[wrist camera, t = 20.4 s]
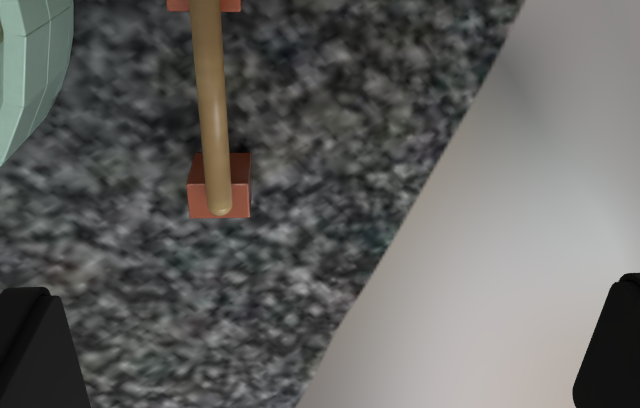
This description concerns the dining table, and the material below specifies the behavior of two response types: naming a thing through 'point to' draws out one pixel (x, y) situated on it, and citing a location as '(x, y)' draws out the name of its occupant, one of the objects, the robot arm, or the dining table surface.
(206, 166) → the tan wooden rod
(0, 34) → the cream block
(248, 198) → the red blocks
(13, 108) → the bowl
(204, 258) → the dining table surface
